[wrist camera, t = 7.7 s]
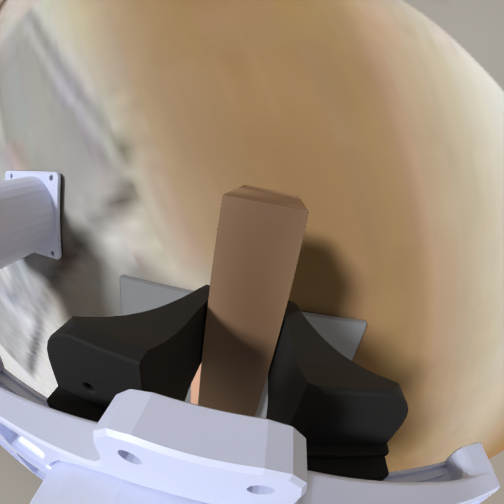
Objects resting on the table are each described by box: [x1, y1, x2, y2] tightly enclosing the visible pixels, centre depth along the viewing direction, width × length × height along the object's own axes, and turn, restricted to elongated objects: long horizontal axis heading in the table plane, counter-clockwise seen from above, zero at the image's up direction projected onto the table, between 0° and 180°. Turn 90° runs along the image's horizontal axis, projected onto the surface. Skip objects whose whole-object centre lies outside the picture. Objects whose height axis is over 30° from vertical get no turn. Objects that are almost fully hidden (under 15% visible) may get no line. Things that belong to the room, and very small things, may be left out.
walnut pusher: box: [198, 185, 309, 417], centre depth 12 cm, size 2×10×5 cm, turn 170°
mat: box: [120, 275, 367, 419], centre depth 23 cm, size 20×16×1 cm
